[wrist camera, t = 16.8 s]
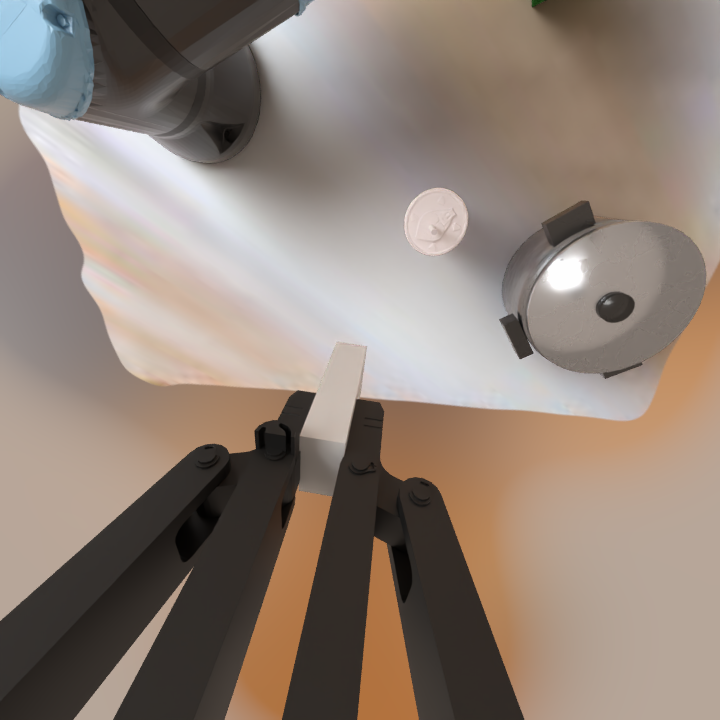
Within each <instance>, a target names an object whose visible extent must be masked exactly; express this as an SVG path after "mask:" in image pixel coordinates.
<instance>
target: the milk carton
mask: <svg viewBox="0 0 720 720" xmlns="http://www.w3.org/2000/svg"><path fill="white" fill-rule="evenodd" d="M544 1H546V0H532V7H534V6H536V5H538V4H540V3H542V2H544Z"/></svg>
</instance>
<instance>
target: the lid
mask: <svg viewBox="0 0 720 720" xmlns="http://www.w3.org/2000/svg"><path fill="white" fill-rule="evenodd" d="M705 285H706V269H705V263H704V260H703V257H702V254H701V252H700V251H699V249H698V247H697V246H696V245H695V243H694V242H693V241H692V240H691V239H690V238H689V237H688V236H686V235H685V234H684V233H683V232H681V231H679V230H677V229H675V228H673V227H670V226H667V225H664V224H660V223H654V222H647V221H625V222H617V223H613V224H608V225H605V226H602V227H599V228H596V229H594V230H591V231H589V232H587V233H585V234H583V235H581V236H580V237H578V238H576V239H574V240H573V241H571V242H570V243H569V244H567V245H566V246H565V247H563V248H562V249H561V250H560V251H559V252H557V253H556V254H555V255H554V256H553V257H552V258H551V259H550V260H549V262H548V263H547V264H546V265H545V266H544V268H543V269H542V270H541V272H540V273H539V275H538V276H537V278H536V280H535V282H534V284H533V286H532V288H531V291H530V293H529V296H528V300H527V305H526V325H527V330H528V333H529V336H530V338H531V340H532V342H533V343H534V345H535V346H536V347H537V349H538V350H539V351H540V352H541V353H542V355H543V356H545V357H546V358H547V359H548V360H549V361H551V362H552V363H554V364H555V365H557V366H560V367H562V368H564V369H567V370H570V371H575V372H580V373H605V372H612V371H616V370H621V369H624V368H627V367H630V366H633V365H635V364H638V363H640V362H642V361H644V360H646V359H648V358H650V357H652V356H653V355H655V354H656V353H658V352H659V351H661V350H662V349H664V348H665V347H666V346H668V345H669V344H670V343H671V342H672V341H673V340H675V339H676V338H677V337H678V336H679V335H680V334H681V333H682V331H683V330H684V329H685V328H686V327H687V325H688V324H689V322H690V321H691V320H692V318H693V317H694V315H695V313H696V311H697V309H698V307H699V306H700V303H701V300H702V298H703V295H704V290H705Z"/></svg>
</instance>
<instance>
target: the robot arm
mask: <svg viewBox="0 0 720 720" xmlns="http://www.w3.org/2000/svg"><path fill="white" fill-rule="evenodd" d="M313 1H314V0H0V95H2V96H4V97H5V98H7V99H9V100H11V101H13V102H16V103H18V104H20V105H22V106H25V107H28V108H32V109H35V110H38V111H41V112H44V113H47V114H50V115H51V116H53V117H55V118H59V119H63V120H69V121H70V120H71V119H73V120H80V121H84V122H89V123H94V124H99V125H104V126H109V127H114V128H118V129H123V130H128V131H133V132H138V133H143V134H148V135H149V136H150V137H152V138H153V139H154V140H155V141H157V142H158V143H159V144H161V145H162V146H163V147H165V148H166V149H167V150H169V151H170V152H172V153H174V154H176V155H178V156H180V157H182V158H185V159H188V160H192V161H197V162H204V163H217V162H222V161H225V160H228V159H230V158H232V157H233V156H235V155H236V154H238V153H239V152H240V151H241V150H242V149H243V148H244V147H245V146H246V144H247V143H248V142H249V140H250V138H251V137H252V135H253V132H254V130H255V128H256V125H257V121H258V117H259V111H260V99H261V96H260V82H259V76H258V71H257V67H256V64H255V60H254V58H253V55H252V52H251V50H250V48H249V46H248V45H249V44H250V43H252V42H253V41H255V40H257V39H258V38H260V37H261V36H263V35H264V34H266V33H267V32H269V31H270V30H272V29H273V28H275V27H276V26H278V25H279V24H281V23H283V22H284V21H286V20H287V19H289V18H290V17H292V16H293V15H295V16H300V15H302V13H303V12H304V11H305V9H306V6H307V5H309V4H310V3H311V2H313ZM366 349H367V346H361V345H354V344H348V343H341V342H337V343H336V345H335V348H334V350H333V353H332V355H331V358H330V360H329V363H328V365H327V368H326V370H325V373H324V375H323V378H322V380H321V383H320V385H319V388H318V390H317V393H311V392H305V391H299V390H298V391H296V392H295V393H294V394H293V395H291V396H290V397H289V399H288V401H287V403H286V405H285V407H284V409H283V410H282V413H281V415H280V417H279V418H278V420H272V421H268V422H265V423H263V424H261V425H259V426H258V428H257V429H256V430H255V443H256V449H255V450H252V451H250V452H243V453H232V454H229V452H228V450H227V449H226V448H225V447H223V446H222V445H217V444H207V445H203V446H200V447H198V448H196V449H195V450H193V451H192V452H190V453H189V454H188V455H187V456H186V457H185V458H184V459H182V460H181V461H180V462H179V463H178V464H177V465H176V466H175V467H173V468H172V469H171V470H170V471H169V472H168V473H167V474H166V475H164V476H163V477H162V478H161V479H160V480H159V481H158V482H156V484H154V485H153V486H152V487H151V488H150V489H149V490H147V491H146V492H145V493H144V494H143V495H142V496H141V497H140V498H138V499H137V500H136V501H135V502H134V503H133V504H132V505H131V506H129V507H128V508H127V509H126V510H125V511H124V512H123V513H122V514H120V515H119V516H118V517H117V518H116V519H115V520H114V521H113V522H111V523H110V524H109V525H108V526H107V527H106V528H105V529H103V530H102V531H101V532H100V533H99V534H98V535H97V536H96V537H94V538H93V539H92V540H91V541H90V542H89V543H88V544H87V545H86V546H84V547H83V548H82V549H81V550H80V551H79V552H78V553H77V554H75V555H74V556H73V557H72V558H71V559H70V560H69V561H67V562H66V563H65V564H64V565H63V566H62V567H61V568H60V569H58V570H57V571H56V572H55V573H54V574H53V575H52V576H51V577H49V578H48V579H47V580H46V581H45V582H44V583H43V584H42V585H40V587H38V588H37V589H36V590H35V591H34V592H33V593H31V594H30V595H29V596H28V597H27V598H26V599H25V600H24V601H22V602H21V603H20V604H19V605H18V606H17V607H16V608H15V609H13V610H12V611H11V612H10V613H9V614H8V615H7V616H6V617H4V618H3V619H2V620H1V621H0V720H73V719H74V718H75V717H76V716H77V714H78V713H79V712H80V710H81V709H82V708H83V707H84V705H85V704H86V703H87V702H88V700H89V699H90V698H91V696H92V695H93V694H94V693H95V691H96V690H97V689H98V688H99V686H100V685H101V684H102V682H103V681H104V680H105V679H106V677H107V676H108V675H109V674H110V672H111V671H112V670H113V669H114V667H115V666H116V664H117V663H118V662H119V661H120V660H121V658H122V657H123V656H124V655H125V653H126V652H127V650H128V649H129V648H130V647H131V646H132V644H133V643H134V642H135V640H136V639H137V638H138V637H139V635H140V634H141V633H142V632H143V630H144V629H145V628H146V627H147V625H148V624H149V623H150V621H151V620H152V619H153V618H154V616H155V615H156V614H157V613H158V611H159V610H160V609H161V607H162V606H163V605H164V604H165V602H166V601H167V600H168V599H169V597H170V596H171V595H172V593H173V592H174V591H175V590H176V588H177V587H178V586H179V585H180V583H181V582H182V581H183V579H184V578H185V577H186V576H187V574H188V573H189V572H190V571H191V569H192V568H193V570H192V571H191V573H190V575H189V577H188V579H187V581H186V583H185V585H184V586H183V588H182V590H181V592H180V594H179V596H178V598H177V600H176V602H175V604H174V606H173V608H172V609H171V611H170V613H169V615H168V617H167V619H166V621H165V622H164V624H163V626H162V628H161V630H160V632H159V634H158V636H157V638H156V639H155V642H154V643H153V645H152V647H151V649H150V651H149V653H148V655H147V657H146V658H145V660H144V662H143V664H142V666H141V668H140V670H139V672H138V674H137V676H136V677H135V680H134V681H133V683H132V685H131V687H130V689H129V691H128V693H127V695H126V696H125V698H124V700H123V702H122V704H121V706H120V708H119V710H118V711H117V714H116V715H115V717H114V719H113V720H224V719H225V716H226V713H227V710H228V707H229V704H230V701H231V698H232V695H233V692H234V689H235V686H236V683H237V680H238V676H239V673H240V670H241V667H242V664H243V661H244V658H245V655H246V652H247V649H248V646H249V643H250V639H251V637H252V633H253V631H254V627H255V624H256V621H257V618H258V615H259V612H260V609H261V606H262V603H263V600H264V597H265V594H266V591H267V587H268V585H269V582H270V579H271V575H272V572H273V569H274V566H275V563H276V560H277V557H278V554H279V551H280V548H281V545H282V542H283V538H284V536H285V533H286V530H287V527H288V523H289V520H290V517H291V514H292V511H293V508H294V505H295V493H296V490H297V487H298V484H299V491H305V492H310V493H316V494H322V495H327V496H333V497H332V501H331V506H330V511H329V515H328V519H327V524H326V528H325V532H324V537H323V541H322V546H321V550H320V554H319V559H318V563H317V567H316V572H315V576H314V581H313V585H312V590H311V594H310V599H309V603H308V607H307V612H306V616H305V620H304V625H303V630H302V634H301V638H300V642H299V647H298V651H297V656H296V660H295V664H294V669H293V673H292V678H291V682H290V687H289V691H288V696H287V700H286V704H285V709H284V713H283V718H282V720H357V715H358V704H359V693H360V682H361V670H362V660H363V648H364V638H365V626H366V616H367V605H368V594H369V583H370V571H371V561H372V550H373V539H374V536H375V537H376V538H378V539H380V540H382V541H384V542H386V543H387V547H388V553H389V558H390V563H391V569H392V575H393V580H394V585H395V591H396V596H397V602H398V607H399V613H400V618H401V623H402V629H403V634H404V640H405V645H406V651H407V656H408V662H409V667H410V673H411V678H412V683H413V689H414V695H415V700H416V705H417V710H418V716H419V720H524V718H523V715H522V712H521V710H520V707H519V704H518V702H517V699H516V696H515V693H514V691H513V688H512V685H511V682H510V680H509V677H508V674H507V672H506V669H505V666H504V664H503V661H502V658H501V655H500V653H499V650H498V647H497V644H496V642H495V639H494V637H493V634H492V631H491V628H490V625H489V623H488V620H487V617H486V615H485V612H484V609H483V607H482V604H481V601H480V598H479V596H478V593H477V591H476V588H475V585H474V582H473V580H472V577H471V574H470V572H469V569H468V566H467V564H466V561H465V558H464V555H463V552H462V550H461V547H460V545H459V542H458V539H457V536H456V534H455V531H454V529H453V525H452V523H451V520H450V517H449V515H448V512H447V509H446V506H445V504H444V501H443V498H442V496H441V493H440V492H439V490H438V488H437V487H436V486H435V485H433V484H432V483H431V482H429V481H427V480H425V479H423V478H417V477H414V478H409V479H407V480H405V481H402V480H400V479H397V478H395V477H393V476H392V475H390V474H389V473H388V472H387V471H386V470H385V469H384V468H383V466H382V464H381V462H380V450H381V439H382V428H383V417H384V411H383V408H382V406H381V404H380V403H379V402H372V401H366V400H360V399H359V398H360V393H361V387H362V379H363V372H364V364H365V357H366Z"/></svg>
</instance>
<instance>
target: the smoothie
mask: <svg viewBox="0 0 720 720" xmlns="http://www.w3.org/2000/svg"><path fill="white" fill-rule="evenodd" d="M467 226H468V212H467V208H466V206H465V204H464V202H463V200H462V199H461V198H460V197H459V196H458V195H457V194H456V193H454V192H453V191H451V190H448V189H445V188H433V189H429V190H426V191H424V192H423V193H421V194H419V195H418V196H417V197H416V198H415V199H414V200H413V201H412V202H411V204H410V205H409V207H408V209H407V212H406V215H405V218H404V230H405V235H406V237H407V239H408V241H409V243H410V244H411V246H412V247H413V248H414V249H415V250H417V251H418V252H420V253H422V254H424V255H429V256H438V255H443V254H445V253H448V252H449V251H451V250H453V249H454V248H455V247H456V246H457V245H458V244H459V243H460V242H461V240H462V239H463V237H464V235H465V233H466V230H467Z"/></svg>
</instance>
